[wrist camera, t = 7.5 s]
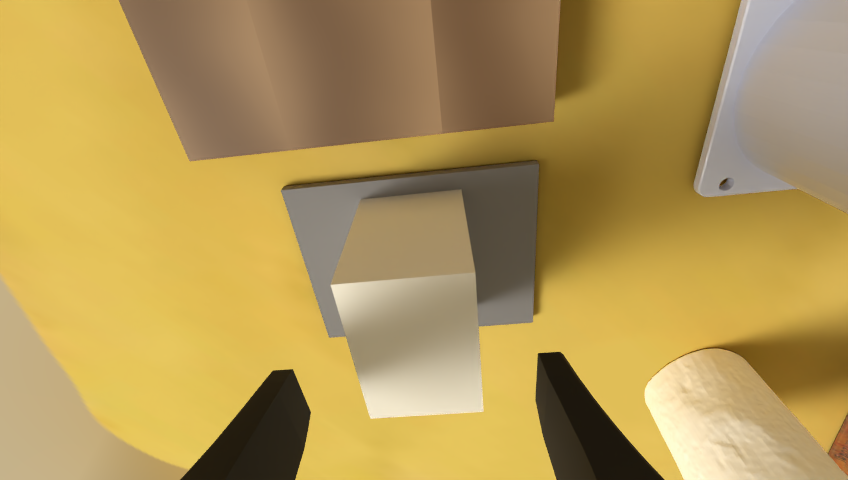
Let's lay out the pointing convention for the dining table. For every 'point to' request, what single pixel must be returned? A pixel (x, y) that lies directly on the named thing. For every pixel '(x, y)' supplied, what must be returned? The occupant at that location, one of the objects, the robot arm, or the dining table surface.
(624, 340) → the dining table surface
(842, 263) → the dining table surface
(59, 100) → the dining table surface
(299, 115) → the block
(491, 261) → the mat
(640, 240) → the dining table surface
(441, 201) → the plug
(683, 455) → the roll
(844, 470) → the tin
